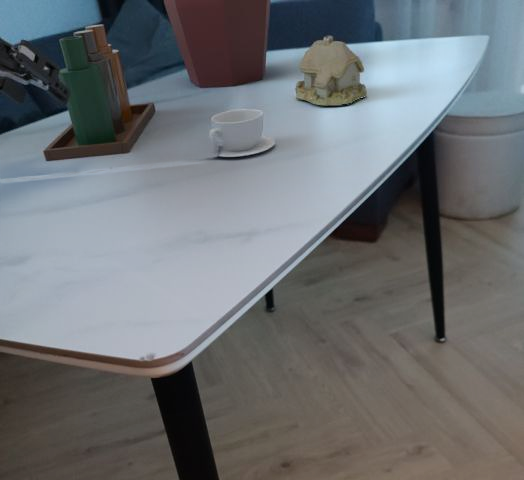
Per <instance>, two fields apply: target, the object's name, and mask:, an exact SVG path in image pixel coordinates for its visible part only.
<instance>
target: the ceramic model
mask: <svg viewBox="0 0 524 480" xmlns="http://www.w3.org/2000/svg"><path fill="white" fill-rule="evenodd" d="M299 71H300V72H301V73H302V74H303V80H299V81H298V82H296V84H295V89H294V90H295V96H296V99H298V100H302V101H306V102H308V103H311V104H313V105H318V106H343V105H342V104H347V105H349V104H348V103H351V104H352V102H353V101H354V102H356V101H355V100H356V99H358V98H361V97H364V96H366V97H367V89H366V85H365V84H364V83H361V73H364V72H365V68H364V64H363V62H362V60H361V59H360V58H359V56H358V55H357V54H355V53H354V52H353V51H352V50H351V49H350V48H349V46H347V44H346V42H343V41H338V40H334V37H333V35H325V36H324V37H323V39H318V40H316V41H313V44H311V46H310V47H309V48H308V49H307V50H305V51H304V54H303V56H302V58H301V60H300V64H299ZM354 102H353V103H354Z"/></svg>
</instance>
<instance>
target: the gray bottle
mask: <svg viewBox="0 0 524 480" xmlns="http://www.w3.org/2000/svg"><path fill="white" fill-rule="evenodd" d="M74 36H82V37H83V41H84V45H85V49H86V53H87V57H88V61H89V64H98V65H99V66H100V70H101V74H102V79H103V83H104V87H105V91H106V96H107V100H108V104H109V109H110V113H111V117H112V121H113V126H114V130H115V134H119V133H121V132H123V131H125V129H126V128H125V124H124V120H123V115H122V111H121V106H120V102H119V97H118V93H117V88H116V84H115V79H114V75H113V71H112V66H111V62H110V58H109V57H106V56H103V55H102V52H101V51H98V48H97V44H96V39H95V35H94V31H93V30H86V29H85V30H79V31H75V32H73V37H74Z"/></svg>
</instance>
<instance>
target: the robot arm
mask: <svg viewBox="0 0 524 480" xmlns="http://www.w3.org/2000/svg"><path fill="white" fill-rule="evenodd" d="M22 68H25V69H26V70H25V73H24V74H20V72H21V70H22ZM60 70H61V67H60V66H59V65H57V64H56V63H55V62H53V61H52V60H51V59H50V58H49V57H48V56H46V55H45V54H44V53H43V52H42V51H40V50H39V49H38V48H37V47H36V46H34V44H32V43H31V42H29V41H28V40H26V39H20V42H19V45H17V46H15V45H14V44H12V43H10V42H8V41H7V40H5V39H4V38H1V36H0V92H1V93H2V94H4V95H5V96H6V97H7V98H9V99H10V100H11V101H13V102H14V103H15V104H19V105H21V104H23V103H24V102H25V99H26V95H27V91H26V89H25V88H24V87H23V86H21V85H20V84H22V85H25V86H28V85H29V84H31V85H33V86H36V87H37V88H39V89H42V90H43V91H44V92H46V93H47V94H48V95H49V96H50V97H52V98H53V99H54V100H55V101H57V102H58V103H59V105H60V104H61V105H67V103H68V100H69V96H70V90H69V89H68V88H67V87H66V86H65V85H64V84H63V83H61V82H60V79H58V78H59V72H60ZM33 75H34V76H33ZM17 82H18V83H17ZM19 83H20V84H19Z"/></svg>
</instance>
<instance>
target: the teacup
mask: <svg viewBox="0 0 524 480" xmlns="http://www.w3.org/2000/svg"><path fill="white" fill-rule="evenodd" d="M210 121H211V125H212V128H211V129H210V130H209V133H208V137H209V140H210V143H211V144H213V145H215V146H219V148H218V152H217V157H221V158H235V157H236V158H237V157H244V156H251V155H255V154H259V153H262V152H265V151H267V150H269V149H271V148H272V147H274V146H275V144H276V141H275V140H274V138H272V137H269V136H265V135H264V136H262V135H263V130H264V112H263V111H262V110H260V109H257V108H239V109H231V110H226V111H223V112H219V113H216V114H214V115H213V116H212V117H211V118H210ZM215 138H216V139H217V141H216V139H215Z"/></svg>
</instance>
